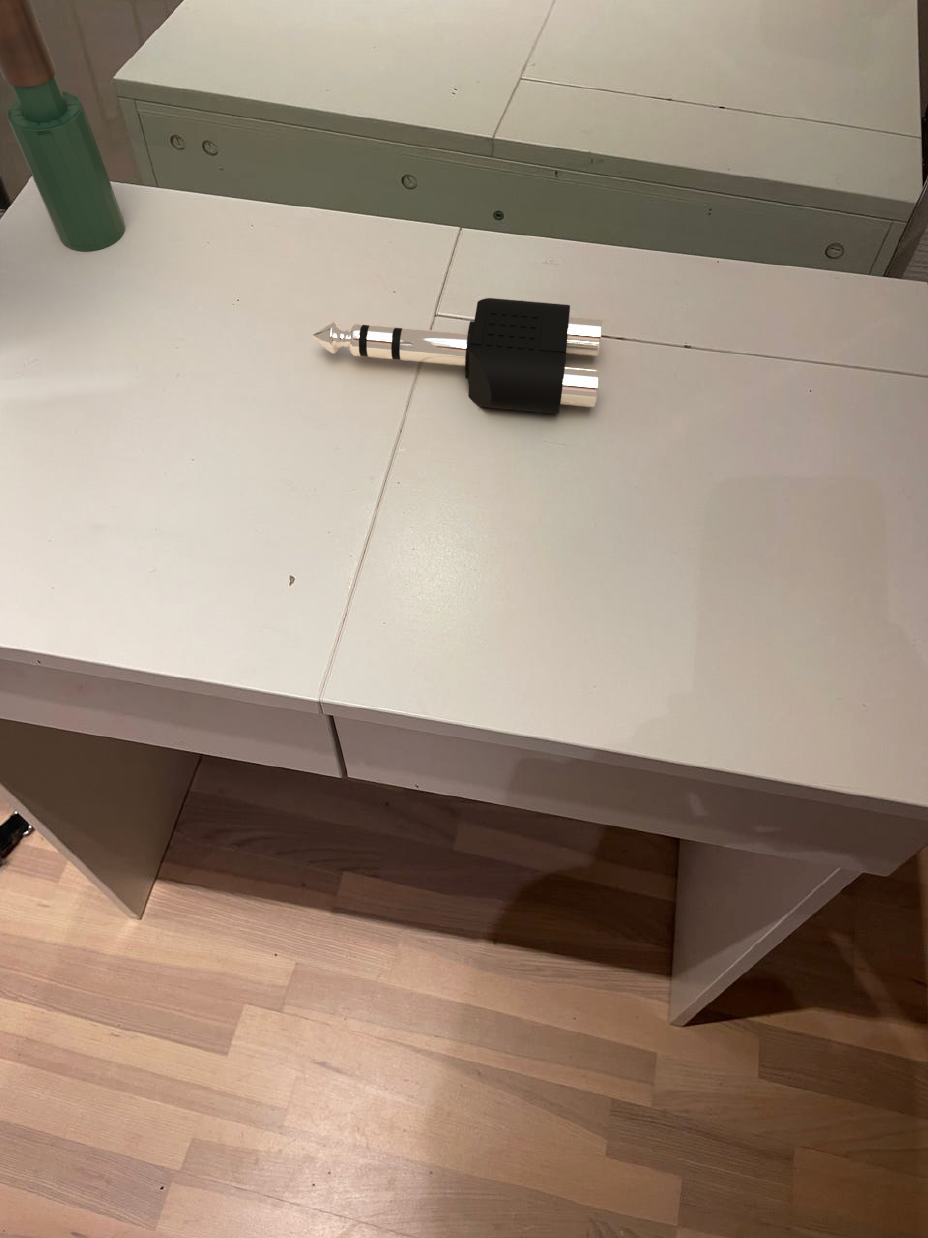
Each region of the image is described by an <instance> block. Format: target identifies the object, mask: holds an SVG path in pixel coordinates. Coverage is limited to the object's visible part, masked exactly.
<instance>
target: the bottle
mask: <svg viewBox="0 0 928 1238" xmlns="http://www.w3.org/2000/svg"><path fill="white" fill-rule="evenodd" d="M9 86H10V90H11V92H12V94H13V97H14V98H15V102H13V103H12V105H11V106H10V107H9V108H8V110H7V116H6V119H7V122H8V123H9V125H10V128H11V131H12V132H13V135H14V137H15V139H16V141H17V144H18V147H19V148H20V149H19V150H20V151H21V153H22V156H23V158H24V160H25V163H26V164H27V165H26V166H27V168H28V170H29V172H30V174H31V177H32V178H33V181H34V183H35V186H36V188H37V190H38V192H39V195H40V197H41V200H42V201H43V202H42V203H43V204H44V207H45V209H46V211H47V213H48V215H49V218H50V220H51V222H52V225H53V227H54V230H55V232H56V234H57V236H58V238H59V240H60V242H61V243H62V244H63V245H64V246H65V247H66V248H69V249H70V250H74V251H77V252H95V251H99V250H100V251H101V250H103V249H105V248H108V247H110V246H112V245H115V243H117V242H118V241H119V240H121V238H122V237H123V235H124V233H125V230H126V229H125V228H126V226H125V222H124V218H123V214H122V212H121V209H120V206H119V203H118V201H117V198H116V194H115V192H114V189H113V187H112V184H111V180H110V177H109V175H108V172H107V169H106V167H105V164H104V161H103V158H102V156H101V153H100V150H99V147H98V145H97V144H98V143H97V141H96V139H95V135H94V133H93V130H92V128H91V125H90V122H89V119H88V116H87V113H86V111H85V107H84V105H83V103H82V101H81V100H80V98H79V97H78V96H76V95H74V94H72V93H70V92H67V91H62V88H61V86H60V83H59V80H58V78H57V73H56V74H55V76H54V77H53V78H52V79H51V80H49V81H48V82H46V83H43V84H41V85H38V86H33V87H16V86H12V85H10V84H9Z"/></svg>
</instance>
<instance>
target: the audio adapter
mask: <svg viewBox="0 0 928 1238" xmlns="http://www.w3.org/2000/svg"><path fill="white" fill-rule="evenodd" d="M476 302H477V303H476V309H475V314H474V320H473V321H472V320H470V321H469V323H468V328H467V333H463V332H453V331H441V330H432V329H422V328H421V329H420V328H408V327H396V326H387V325H374V324H363V323H354V324H353V325H352V326H351V327H350V329H348V330H342V329H341V328H340V326H339V325H338V323H337V322H336V321H332V322H331V323H329V324H327V325H325V326H324V327H322V328H320V329H319V330H318V331H316V332H314V333H313V334H312V338H313V339H314V341H316V343H318V344H319V345H321V346H322V348H324V349H326V350H327V351H328V352H329V353H330V354H332V355H335V354H336V353H337V352H338V350H339V349H341V348H347V349H348V350H349V352H350V354H351V355H353V356H354V357H366V358H373V359H382V360H400V361H406V362H416V363H417V362H418V363H427V364H437V365H438V364H439V365H448V366H449V365H450V366H459V367H464V378H465V380H468V398H469V399H470V400H471V401H472V402H474V403H475V404H476V405H478V406H479V407H483V408H492V409H502V410H503V409H504V410H511V411H512V410H514V411H523V412H532V413H533V412H534V413H544V414H555V415H558V414H560V409H561V405H563V406H575V407H584V408H585V407H586V408H595V407H596V403H597V398H598V392H599V391H598V390H599V384H600V382H599V381H600V370H599V369H592V368H582V367H570V366H566V358H567V355H568V354H570V355H579V356H589V357H598V356H599V352H600V348H601V347H600V346H601V340H602V339H601V338H602V330H603V319H599V318H588V317H587V318H586V317H576V316H575V317H574V316H570V313H571V305H570V304H564V303H563V304H562V303H551V302H540V301H529V300H517V299H505V298H496V297H494V298H493V297H486V298H483V299H480V300H478V301H476Z"/></svg>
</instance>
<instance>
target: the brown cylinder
mask: <svg viewBox="0 0 928 1238" xmlns="http://www.w3.org/2000/svg"><path fill="white" fill-rule="evenodd" d="M51 53H52V52H51V51H50V47H49V45H48V43H47V40H46V37H45V34H44V31H43V29H42V26H41V23H40V20H39V18H38V15H37V12H36V10H35V7H34V4H33V1H32V0H0V74H1V76H2V77H3V80H4V81H5V82H6V84H8V85H9V86H10V85H12V86H16V87H33V86H38V85H41V84H43V83H46V82H48V81H49V80H51V79H52V78H53V77H54V76H55V74H56V75H57V68H56V64H55V62H54V59H53V57H52V54H51Z"/></svg>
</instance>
